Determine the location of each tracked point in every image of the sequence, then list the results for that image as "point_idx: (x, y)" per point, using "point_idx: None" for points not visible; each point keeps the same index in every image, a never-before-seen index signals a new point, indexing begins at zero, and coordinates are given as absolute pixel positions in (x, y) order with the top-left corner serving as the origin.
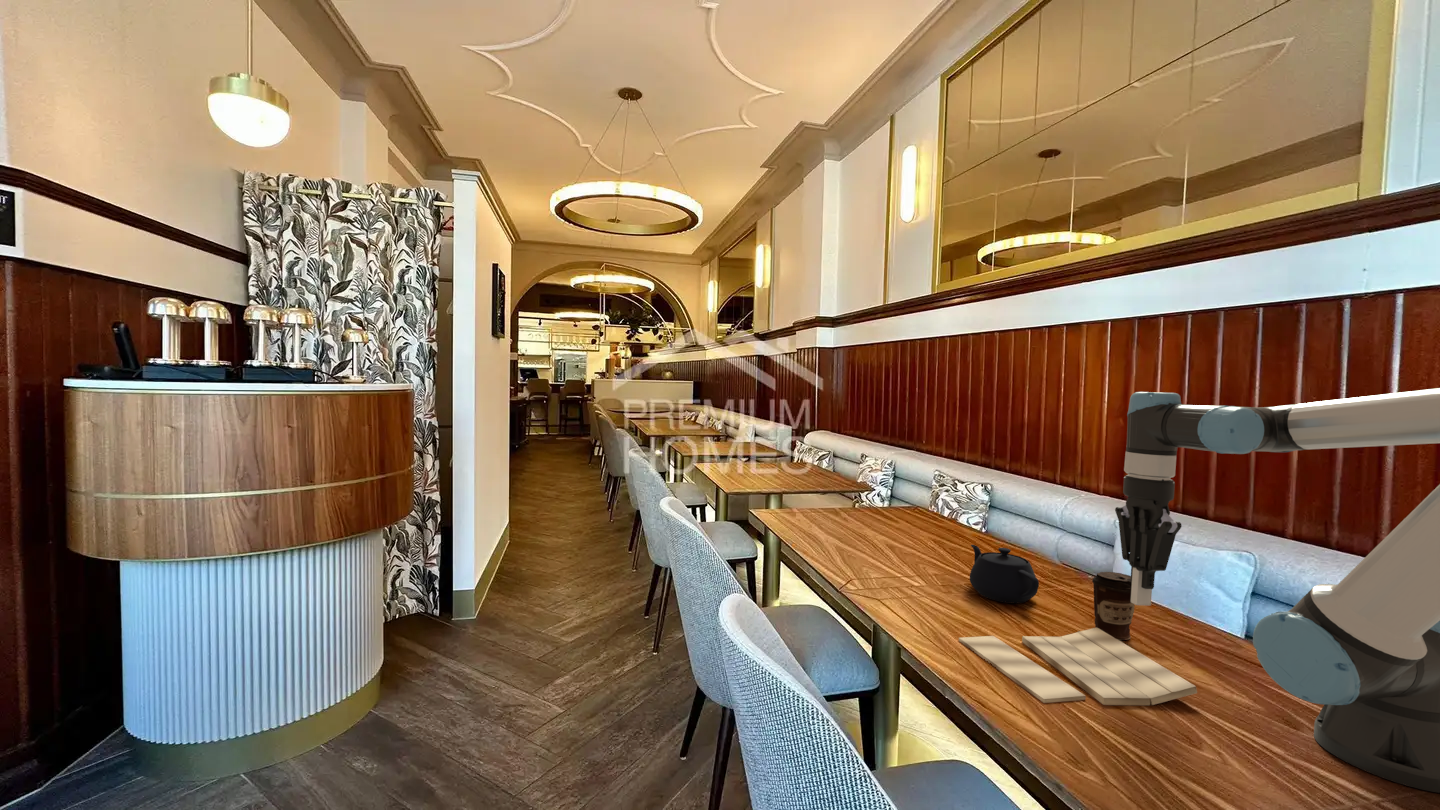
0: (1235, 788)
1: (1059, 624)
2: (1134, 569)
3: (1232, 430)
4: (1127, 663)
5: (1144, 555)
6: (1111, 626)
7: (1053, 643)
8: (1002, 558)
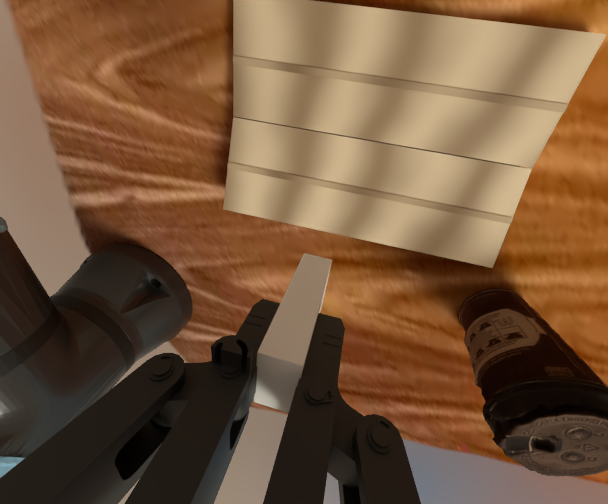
0: (29, 22)
1: (603, 257)
2: (291, 355)
3: None
4: (338, 185)
5: (172, 450)
6: (487, 310)
7: (509, 109)
8: None
